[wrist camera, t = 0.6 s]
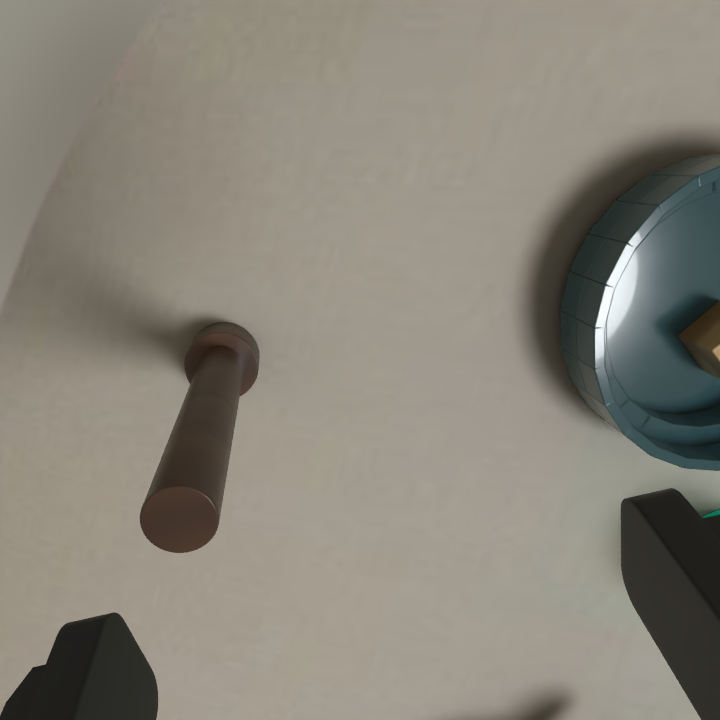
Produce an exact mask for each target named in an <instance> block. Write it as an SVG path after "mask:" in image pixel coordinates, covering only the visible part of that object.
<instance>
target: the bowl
mask: <svg viewBox="0 0 720 720" xmlns="http://www.w3.org/2000/svg"><path fill="white" fill-rule="evenodd" d="M718 301H720V153H718V154H711V155H704V156H697V157H690V158H686V159H684V160H682V161H679V162H677V163H675V164H672V165H670V166H668V167H666V168H663V169H661V170H659V171H656V172H654V173H652V174H650V175H648V176H647V177H646V178H644V179H643V180H642V181H640V182H639V183H638V184H636V185H635V186H634V187H632V188H631V189H630V190H629V191H627V192H626V193H625V194H623V195H622V196H621V197H619V198H618V199H617V200H616V201H615V202H614V203H613V204H612V205H611V206H610V208H609V209H608V210H607V211H606V213H605V214H604V215H603V216H602V217H601V219H600V220H599V221H598V222H597V223H596V225H595V226H594V227H593V228H592V229H591V231H590V232H589V234H587V236H586V238H585V240H584V242H583V244H582V246H581V248H580V250H579V252H578V254H577V256H576V258H575V260H574V262H573V264H572V266H571V268H570V272H569V274H568V278H567V282H566V286H565V291H564V295H563V299H562V304H561V308H560V310H561V311H560V325H561V350H562V353H563V356H564V359H565V363H566V366H567V369H568V372H569V376H570V379H571V380H572V383H573V384H574V386H575V387H576V389H577V390H578V391H579V393H580V394H581V396H582V397H583V399H584V400H585V402H586V403H587V405H588V406H589V407H590V408H591V409H592V410H593V411H594V412H595V413H597V414H598V415H599V416H601V417H602V418H603V419H604V420H606V421H607V422H608V423H609V424H611V425H612V426H613V427H614V428H616V429H617V430H618V431H619V432H621V433H622V434H623V435H625V436H626V437H627V438H628V439H630V440H631V441H632V442H633V443H635V444H636V445H637V446H639V447H640V448H641V449H642V450H644V451H645V452H646V453H648V454H649V455H650V456H652V457H655V458H657V459H660V460H663V461H666V462H668V463H671V464H674V465H676V466H679V467H682V468H687V469H701V470H715V471H719V470H720V379H719V378H717V377H715V376H713V375H711V374H709V373H707V372H705V371H703V370H702V368H701V367H700V366H699V364H698V363H697V362H696V360H695V359H694V358H693V356H692V355H691V353H690V352H689V351H688V349H687V348H686V347H685V345H684V344H683V343H682V341H681V340H680V339H679V337H678V335H679V334H680V333H681V332H683V331H684V330H685V329H686V328H687V327H689V326H690V325H691V324H692V323H693V322H694V321H696V320H697V319H698V318H699V317H700V316H702V315H703V314H704V313H705V312H706V311H707V310H709V309H710V308H711V307H712V306H713V305H715V304H716V303H717V302H718Z"/></svg>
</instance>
